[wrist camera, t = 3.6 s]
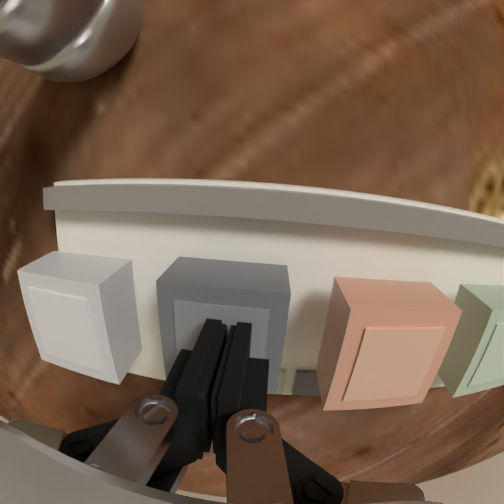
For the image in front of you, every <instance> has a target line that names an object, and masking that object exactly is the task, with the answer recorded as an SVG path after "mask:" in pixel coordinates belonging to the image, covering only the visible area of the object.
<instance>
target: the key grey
mask: <svg viewBox="0 0 504 504" xmlns="http://www.w3.org/2000/svg"><path fill="white" fill-rule="evenodd" d="M17 272H18V277H19V282H20V287H21V291H22V295H23V300H24V304H25V307H26V311H27V315H28V318H29V322H30V325H31V329H32V332H33V335H34V338H35V341H36V344H37V347H38V350H39V353H40V356H41V358H42V360H45V361H47V362H50V363H53V364H55V365H58V366H61V367H64V368H66V369H69V370H72V371H75V372H78V373H81V374H84V375H87V376H91V377H94V378H97V379H101V380H104V381H107V382H111V383H115V384H118V385H120V383H121V382H122V380H123V379H124V377H125V375H126V374H127V372H128V371H129V369H130V367H131V366H132V364H133V363H134V361H135V360H136V358H137V357H138V355H139V353H140V352H141V350H142V344H141V337H140V331H139V323H138V316H137V308H136V299H135V289H134V279H133V267H132V259H123V258H113V257H104V256H94V255H85V254H76V253H67V252H59V251H53V252H51V253H49V254H47V255H45V256H43V257H41V258H39V259H37V260H35V261H33V262H31V263H29V264H28V265H26V266H24V267H22V268H20V269H18V270H17Z"/></svg>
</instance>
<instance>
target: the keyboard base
mask: <svg viewBox="0 0 504 504" xmlns="http://www.w3.org/2000/svg"><path fill="white" fill-rule="evenodd" d="M43 204H44V210H55V219H56V231H57V241H58V250H59V252H67V253H76V254H85V255H94V256H104V257H113V258H123V259H132V267H133V279H134V289H135V299H136V308H137V316H138V323H139V331H140V337H141V344H142V350H141V352H140V353H139V355H138V357H137V358H136V360H135V361H134V363H133V364H132V366H131V367H130V369H129V371H128V373H132V374H136V375H141V376H146V377H150V378H155V379H160V380H165V381H166V374H165V367H164V360H163V352H162V344H161V335H160V325H159V314H158V303H157V289H156V280H157V279H158V278H159V277H160V276H161V275H162V274H163V273H164V272H165V271H166V270H167V269H168V267H169V266H170V265H171V264H172V263H173V262H174V261H175V260H176V259H177V258H178V257H179V256H180V257H191V258H203V259H215V260H227V261H239V262H251V263H264V264H276V265H287V268H288V276H289V283H290V290H291V297H290V305H289V312H288V320H287V327H286V334H285V341H284V348H283V355H282V361H281V368H280V374H279V380H278V386H277V393H276V394H284V395H320V389H319V384H318V378H317V372H316V365H317V361H318V356H319V352H320V347H321V343H322V338H323V334H324V329H325V324H326V319H327V314H328V309H329V304H330V298H331V293H332V287H333V281H334V277H348V278H363V279H380V280H397V281H415V282H431V283H432V284H433V285H434V286H435V287H437V288H438V289H439V290H440V291H441V292H442V293H443V294H445V295H446V296H447V297H448V298H449V299H450V300H451V301H452V302H453V303H454V302H455V299H456V296H457V292H458V289H459V286H460V284H478V285H504V219H501V218H497V217H493V216H488V215H484V214H480V213H475V212H470V211H466V210H461V209H456V208H451V207H446V206H441V205H436V204H430V203H425V202H419V201H413V200H407V199H401V198H395V197H388V196H382V195H375V194H368V193H360V192H352V191H344V190H336V189H327V188H318V187H308V186H298V185H287V184H275V183H262V182H247V181H229V180H207V179H169V178H123V179H87V180H66V181H59V182H54V186H50V187H45V188H43ZM443 386H445V385H444V383H443V382H442V380H441V379H440V377H439V375H438V374H436V376H435V378H434V380H433V382H432V384H431V386H430V388H436V387H443ZM267 394H275V393H267Z"/></svg>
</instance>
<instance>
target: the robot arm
mask: <svg viewBox="0 0 504 504" xmlns="http://www.w3.org/2000/svg"><path fill="white" fill-rule="evenodd" d="M251 333H252V323H246V322H237V324H236V325H231V327H230V330H229V334H228V337H227V324H222V320H218V319H210V318H207V319H206V321H205V323H204V325H203V328H202V330H201V332H200V334H199V337H198V339H197V341H196V344H195V346H194V348H193V350H187V349H181V350H180V352H179V354H178V356H177V358H176V360H175V362H174V364H173V366H172V368H171V370H170V372H169V374H168V376H167V378H166V381H165V383H164V385H163V387H162V389H161V391H160V393H159V394H148V395H144V396H141V397H139V398H137V399H136V400H135V401H134V402H133V403H132V404H131V405H130V406H129V408H128V409H127V410H126V411H125V413H124V414H123V415H122V416H121V418H119V419H116V420H113V421H110V422H107V423H103V424H100V425H96V426H93V427H89V428H86V429H82V430H78V431H75V432H72V433H70V434H66V432H65V431H64V430H59V429H55V428H51V427H47V426H43V425H40V424H36V423H33V422H29V421H26V420H22V419H16V420H12V421H10V422H9V423H8V424H7V423H5V422H3V421H0V504H442V503H437V502H430V501H425V498H424V494H423V492H422V490H421V489H420V488H419V487H417V486H416V485H414V484H409V483H380V482H364V481H353V480H351V481H350V482H349V483H347V482H340V481H338V480H337V479H336V478H335V477H334V476H332V475H331V474H329V473H328V472H327V471H325V470H324V469H322V468H321V467H319V466H318V465H317V464H315V463H314V462H312V461H311V460H310V459H308V458H307V457H306V456H304V455H303V454H301V453H300V452H299V451H297V450H296V449H295V448H294V447H292V446H291V445H290V444H288V443H287V442H286V441H285V440H283V439H282V438H281V433H280V427H279V424H278V422H277V420H276V419H275V418H274V417H273V416H272V415H270V414H269V413H267V412H266V407H267V392H268V375H269V359H261V358H250V346H251ZM212 439H213V453H215V454H216V465H217V466H218V467H219V468H220V469H221V470H222V471H223V472H224V473H225V474H226V487H227V503H221V502H215V501H208V500H203V499H198V498H192V497H188V496H183V495H178V494H175V492H176V490H177V488H178V486H179V484H180V483H181V481H182V479H183V477H184V475H185V473H186V471H187V467H188V464H190V463H193V462H195V461H196V460H197V459H202V456H203V452H209V451H210V447H211V443H212Z"/></svg>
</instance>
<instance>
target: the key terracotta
mask: <svg viewBox="0 0 504 504" xmlns="http://www.w3.org/2000/svg"><path fill="white" fill-rule="evenodd" d="M461 313H462V310H461V309H460V308H459V307H458V306H457V305H456V304H454V303H453V302H452V301H451V300H450V299H449V298H448V297H447V296H446V295H445V294H443V293H442V292H441V291H440V290H439V289H438V288H437V287H435V286H434V285H433V284H432V283H431V282H415V281H397V280H380V279H363V278H348V277H334V281H333V287H332V293H331V298H330V304H329V309H328V314H327V319H326V324H325V329H324V334H323V338H322V343H321V347H320V352H319V356H318V361H317V365H316V372H317V378H318V384H319V389H320V395H321V401H322V407H323V410H353V409H370V408H382V407H392V406H401V405H410V404H417V403H422V402H423V400H424V398H425V396H426V394H427V392H428V390H429V388H430V386H431V384H432V382H433V380H434V378H435V376H436V374H437V372H438V370H439V368H440V366H441V363H442V361H443V359H444V357H445V354H446V352H447V350H448V347H449V345H450V343H451V340H452V338H453V335H454V332H455V330H456V327H457V325H458V322H459V319H460V316H461Z"/></svg>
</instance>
